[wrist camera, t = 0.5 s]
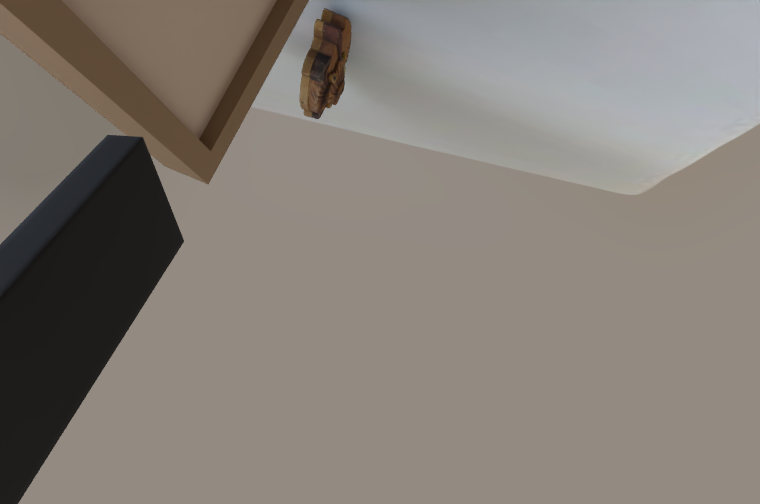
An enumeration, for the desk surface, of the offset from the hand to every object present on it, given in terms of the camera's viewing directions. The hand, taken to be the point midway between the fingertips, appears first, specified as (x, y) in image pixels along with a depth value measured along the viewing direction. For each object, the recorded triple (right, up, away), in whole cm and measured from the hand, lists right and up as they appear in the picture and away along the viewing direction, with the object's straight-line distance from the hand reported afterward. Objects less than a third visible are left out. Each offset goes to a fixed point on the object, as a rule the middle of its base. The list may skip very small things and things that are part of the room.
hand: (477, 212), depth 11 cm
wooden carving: (-7, +25, +53) cm, 59 cm away
